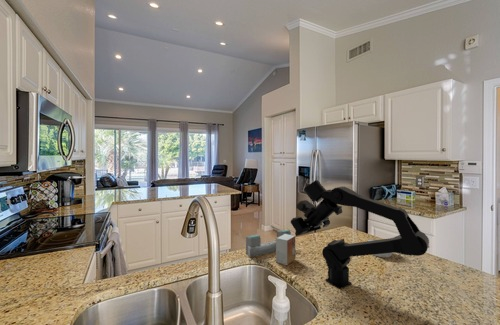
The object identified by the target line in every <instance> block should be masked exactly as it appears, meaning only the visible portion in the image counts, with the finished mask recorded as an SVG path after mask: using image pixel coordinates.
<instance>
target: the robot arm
mask: <svg viewBox="0 0 500 325" xmlns="http://www.w3.org/2000/svg"><path fill="white" fill-rule="evenodd" d="M303 192H304V193H305V195H307V197H308V198H309V199H310V200H311V202H310V201H308V200H307V199H306V200H304V199H303V200H300V201H299V202H298V203H296V209H297V210H298V211H300V212H302V213H303V216H304V218H303V217H302V216H296V217H293V218H291V220H290V224H291V226H292V227H293V229H294V230H295V233H294V236H295V237H296V236H302V235H304V234H308V233H312V232H315V231H319V230H321V229H322V228H327V227H329V225H331V220H330V216H332V215H333V213H335V215H336V216H338V215H341V214H342V213H343V206H344V207H346V206H347V207H353V208H356V209H360V210H363V211H366V212H369V213H371V214H373V215H377V216H379V217H383V218H384V219H388V220H390V221H393V223H394V225H395V227H396V230H397V231H398V233H399V235H396V236H394V237H390V238H382V239H379V240H374V241H367V240H366V241H360V242H353V243H352V242H351V243H350V242H349V243H347V242H345V239H344V238H341V239H337V240H336V239H333V240H332V241H330V242H328V243H327V244H326V246H324V247H323V248H322V251H321V252H322V257H323V258H324V260H325V262H326V267H327V277H328V278H325V281H326V282H327V283H329V284H330V285H333V286H334V287H336V288H337V289H340V290H341V289H343V288H345V287H349V286H351V285H352V284H353V283H352V282H351V281H350V276H349V275H350V268H349V267H348V266H347V265H349V264H350V262H351V260H352V258H351V257H359V256H370V255H371V256H372V255H373V256H375V255H374V254H384V253H392V254H393V253H394V254H395V253H396V254H399V255H403V256H413V257H414V256H416V257H419V256H423V255H425V254H426V253H427V251H428V248H429V245H430V240H429V237H428V236H427V235H426V234H425V233H424V232H422V231H421V230H420V229H419V227H418V226H417V224H416V223H415V222H414V221H413V219H412V218H411V217H410V216H409V214H408V212H407V210H406V209H404V208H402V207H396V206H394V205H390V204H387V203H384V202H381V201H378V200H376V199H371V198H369V197H366V196H363V195H360V194H359V193H357V192H356V191H354V190H353V189H351V188H349V187H346V186H337V187H334V188H332V189H326V188H325V187H324V186H323V185H322V184H321V182H320V181H319V180H318V179H315V180H313V181H312V182H310V183H309V184H308V185H306V186H305V187H304V188H303ZM312 202H313V203H315V202H316V203H318V204H317V205H316V206H315V205H314V204H312Z"/></svg>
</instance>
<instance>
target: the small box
mask: <svg viewBox="0 0 500 325" xmlns="http://www.w3.org/2000/svg"><path fill="white" fill-rule="evenodd" d="M275 240H276V252H275V262H276V263H278V264H282V265H285V266H288V265H289V264H291V263H292V262H294V261H296V235H292V234H291V235H288V234H284V235H282V236H280V237H278V238H277V237H276V238H275Z"/></svg>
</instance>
